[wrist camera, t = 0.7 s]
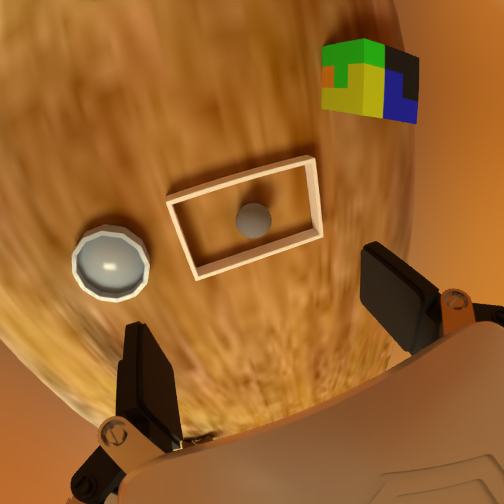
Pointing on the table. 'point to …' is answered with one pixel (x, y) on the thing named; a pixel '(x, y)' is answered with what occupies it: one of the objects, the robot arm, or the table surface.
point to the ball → (253, 220)
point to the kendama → (193, 443)
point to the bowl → (111, 263)
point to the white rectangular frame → (264, 249)
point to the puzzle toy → (370, 80)
